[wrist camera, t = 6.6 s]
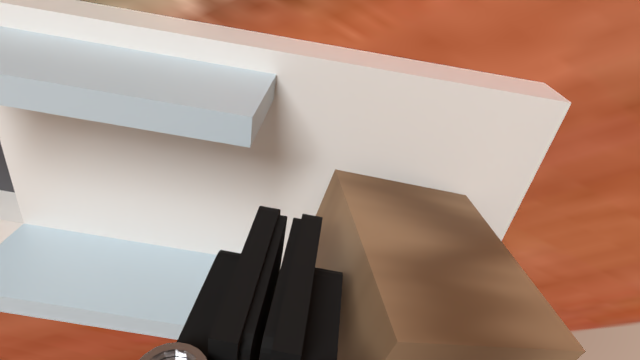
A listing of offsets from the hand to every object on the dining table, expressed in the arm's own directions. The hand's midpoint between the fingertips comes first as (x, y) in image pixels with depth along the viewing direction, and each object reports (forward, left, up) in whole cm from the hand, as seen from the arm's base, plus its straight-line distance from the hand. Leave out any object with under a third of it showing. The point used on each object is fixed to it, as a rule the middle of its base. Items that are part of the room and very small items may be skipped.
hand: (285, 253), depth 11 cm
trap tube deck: (+5, +1, -6) cm, 8 cm away
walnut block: (-3, +2, -3) cm, 5 cm away
